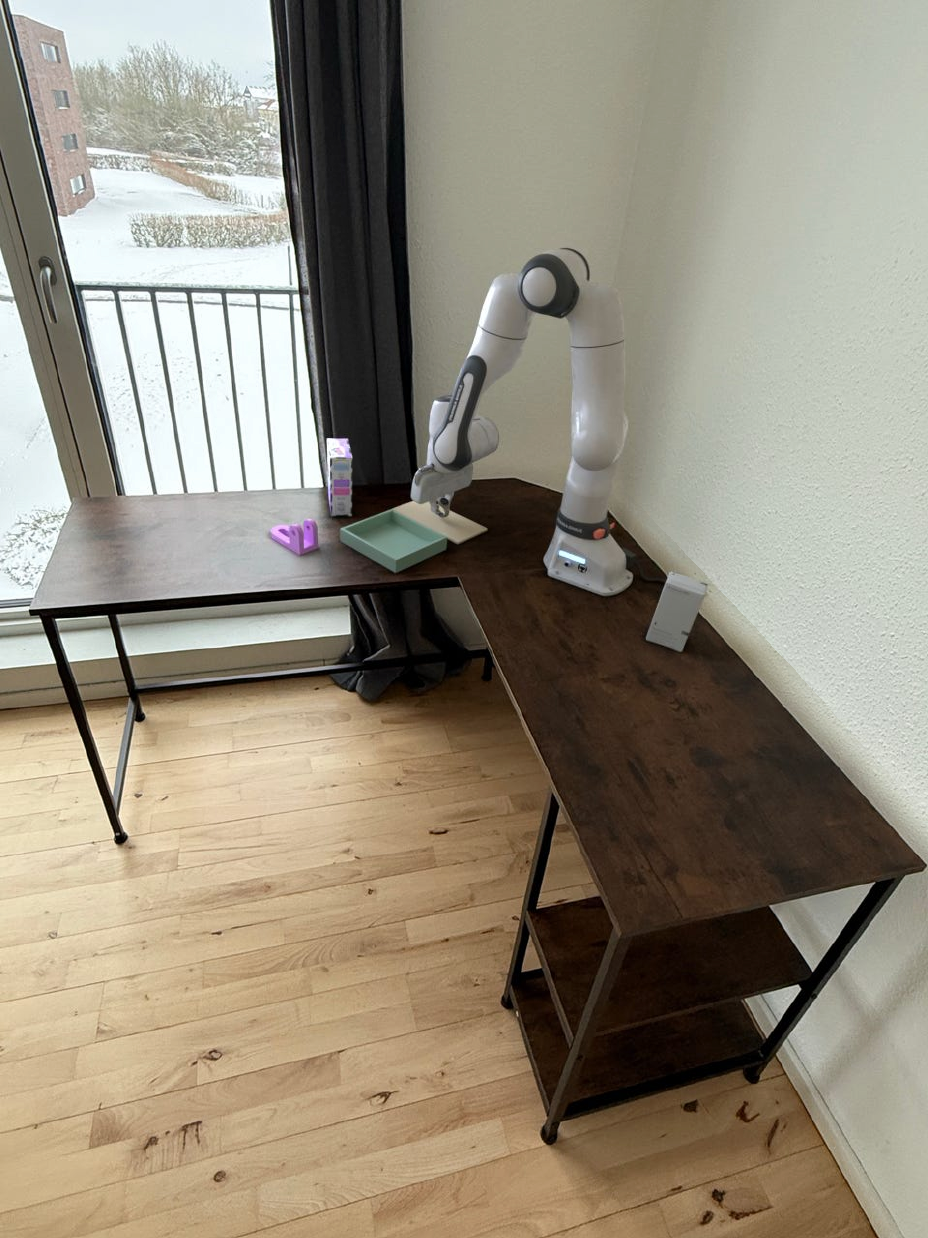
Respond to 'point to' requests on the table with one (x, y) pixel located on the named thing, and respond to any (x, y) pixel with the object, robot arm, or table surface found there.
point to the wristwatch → (445, 505)
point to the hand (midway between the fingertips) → (440, 509)
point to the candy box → (339, 477)
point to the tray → (393, 540)
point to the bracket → (297, 536)
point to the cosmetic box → (676, 611)
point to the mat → (442, 521)
